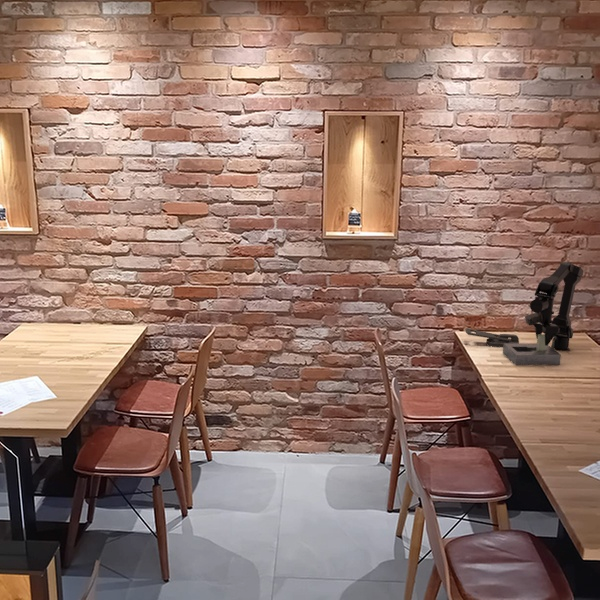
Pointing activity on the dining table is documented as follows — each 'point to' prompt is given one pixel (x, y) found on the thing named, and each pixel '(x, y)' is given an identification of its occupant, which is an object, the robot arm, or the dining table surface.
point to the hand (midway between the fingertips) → (542, 342)
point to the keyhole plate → (531, 354)
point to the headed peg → (541, 343)
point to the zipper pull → (495, 338)
